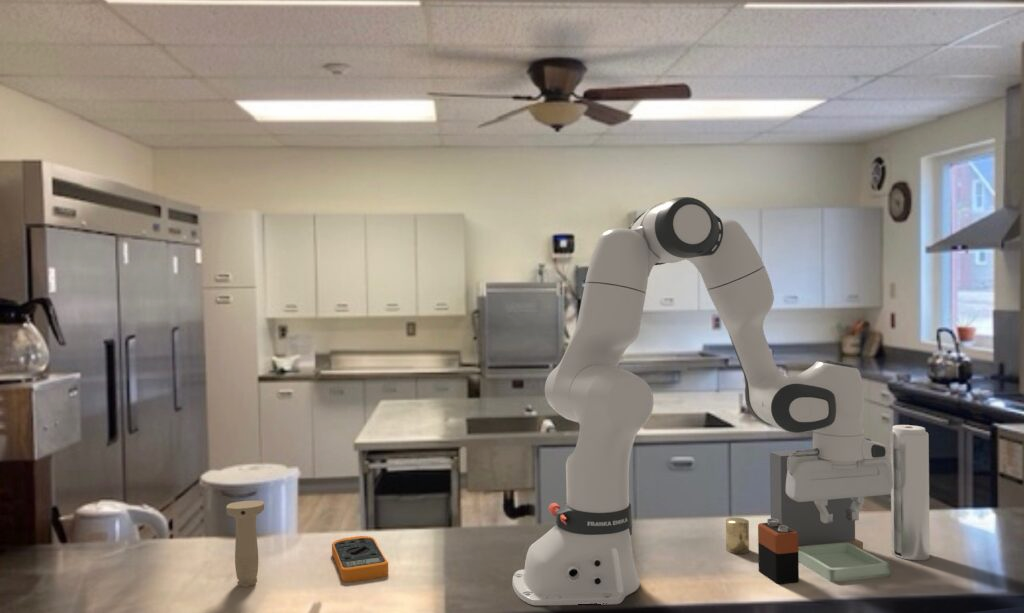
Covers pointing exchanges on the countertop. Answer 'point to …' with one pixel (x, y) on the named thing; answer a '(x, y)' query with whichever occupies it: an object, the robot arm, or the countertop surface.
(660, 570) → the countertop surface
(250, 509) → the handle
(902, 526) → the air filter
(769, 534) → the battery
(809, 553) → the tray
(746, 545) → the yellow translucent cylinder
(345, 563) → the multimeter
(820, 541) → the control unit
